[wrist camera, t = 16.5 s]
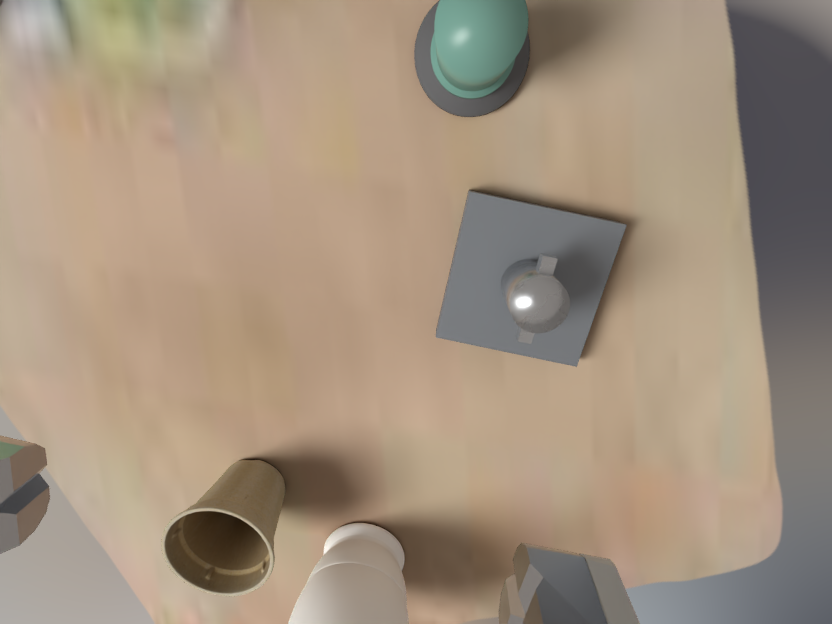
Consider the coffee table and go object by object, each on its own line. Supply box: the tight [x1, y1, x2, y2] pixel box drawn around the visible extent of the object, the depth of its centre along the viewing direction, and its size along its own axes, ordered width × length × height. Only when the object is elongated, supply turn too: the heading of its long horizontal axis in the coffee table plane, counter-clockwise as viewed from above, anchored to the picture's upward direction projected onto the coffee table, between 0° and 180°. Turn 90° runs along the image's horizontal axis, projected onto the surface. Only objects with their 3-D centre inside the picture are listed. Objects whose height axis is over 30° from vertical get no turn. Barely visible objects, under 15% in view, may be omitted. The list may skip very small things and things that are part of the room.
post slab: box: [436, 190, 626, 367], centre depth 37 cm, size 12×12×2 cm
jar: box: [288, 523, 409, 624], centre depth 42 cm, size 11×10×15 cm
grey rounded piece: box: [501, 253, 570, 344], centre depth 34 cm, size 4×6×6 cm, turn 169°
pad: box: [415, 0, 530, 117], centre depth 33 cm, size 8×8×1 cm
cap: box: [431, 0, 528, 99], centre depth 29 cm, size 6×6×8 cm
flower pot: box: [161, 460, 285, 596], centre depth 42 cm, size 9×9×9 cm
